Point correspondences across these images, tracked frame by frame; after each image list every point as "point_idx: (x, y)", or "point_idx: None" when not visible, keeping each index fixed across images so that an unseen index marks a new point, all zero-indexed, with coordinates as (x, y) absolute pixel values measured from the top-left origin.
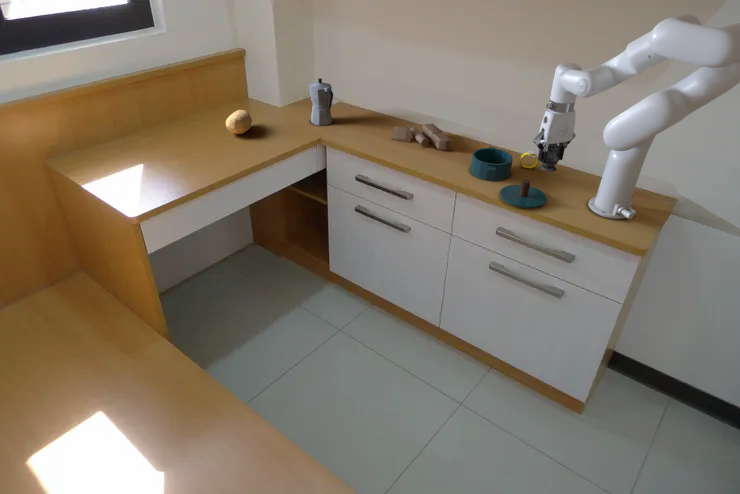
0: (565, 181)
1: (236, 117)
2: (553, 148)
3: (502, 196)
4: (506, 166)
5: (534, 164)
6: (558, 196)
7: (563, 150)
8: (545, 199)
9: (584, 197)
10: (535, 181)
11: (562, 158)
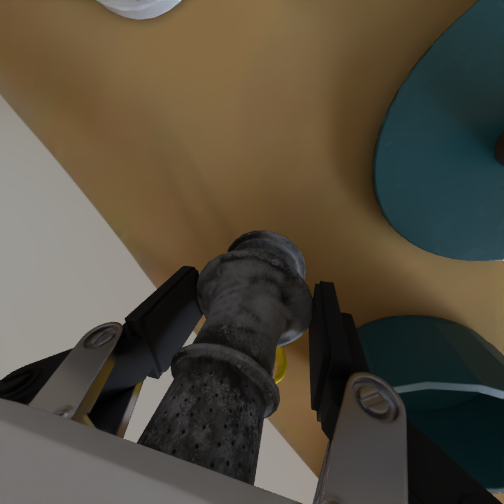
0: (199, 219)
1: None
2: (238, 369)
3: None
4: (441, 365)
5: None
6: (302, 108)
7: (143, 310)
8: (450, 34)
9: (193, 61)
10: None
11: (179, 269)
